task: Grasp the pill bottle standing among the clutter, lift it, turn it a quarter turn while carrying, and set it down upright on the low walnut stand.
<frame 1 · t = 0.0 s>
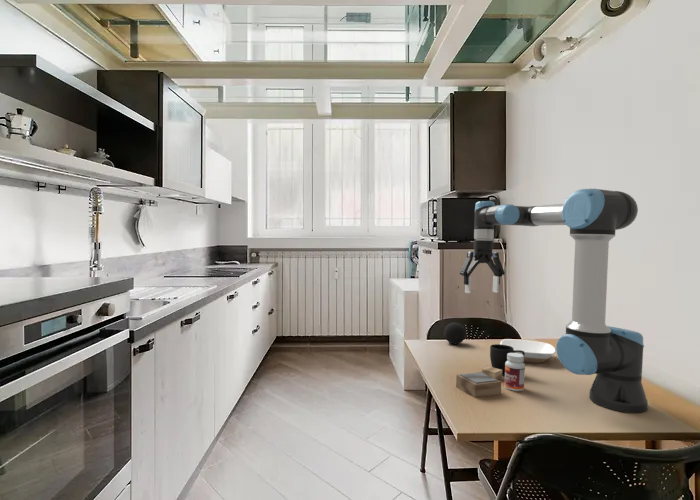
hand: (481, 292, 171), 28 cm above the table, fingers open, 13 cm apart
oak offcut: (491, 377, 151), on the table
walnut stand: (478, 390, 138), on the table
pill bottle: (514, 388, 141), on the table
bowl: (526, 358, 179), on the table
mug: (506, 373, 157), on the table
speaker: (454, 344, 200), on the table
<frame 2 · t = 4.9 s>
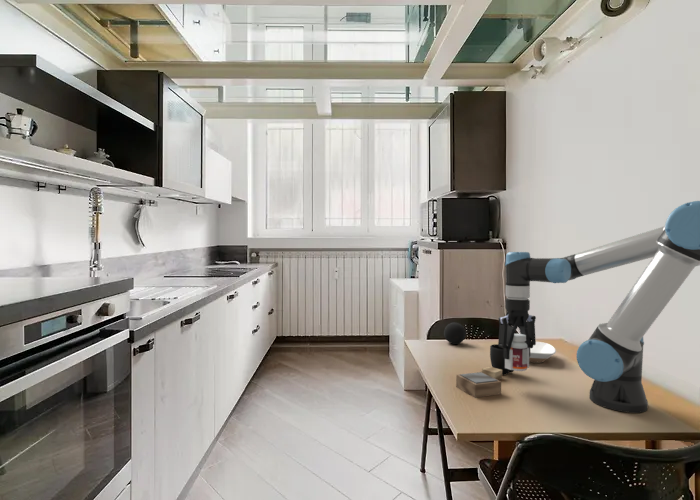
hand: (516, 367, 140), 7 cm above the table, fingers closed on pill bottle, 6 cm apart
pill bottle: (517, 369, 140), point 7 cm above the table, touching gripper
everything else where it was.
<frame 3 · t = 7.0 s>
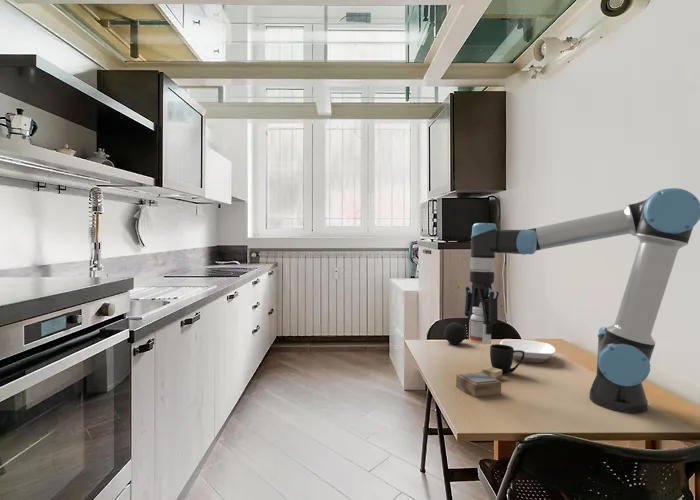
hand: (479, 341, 138), 16 cm above the table, fingers closed on pill bottle, 6 cm apart
pill bottle: (479, 342, 138), point 16 cm above the table, touching gripper
everything else where it was.
when the fingers open (5 cm above the table, at t = 9.5 s): pill bottle stays where it is, resting on walnut stand.
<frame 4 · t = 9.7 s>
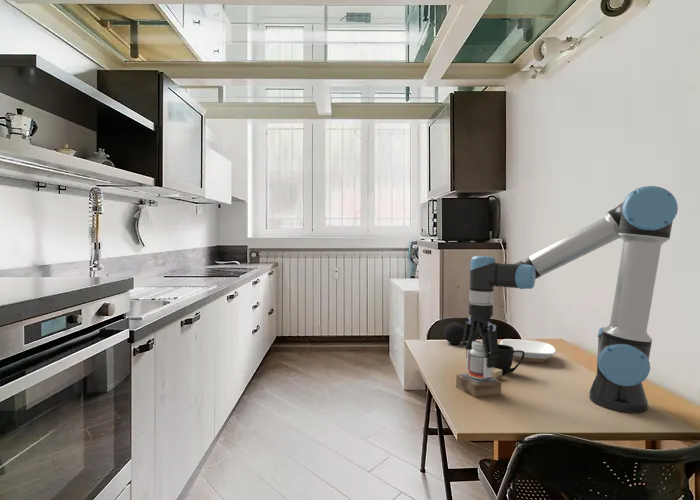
hand: (478, 372, 138), 6 cm above the table, fingers open, 8 cm apart
pill bottle: (478, 377, 138), point 4 cm above the table, touching walnut stand
everything else where it was.
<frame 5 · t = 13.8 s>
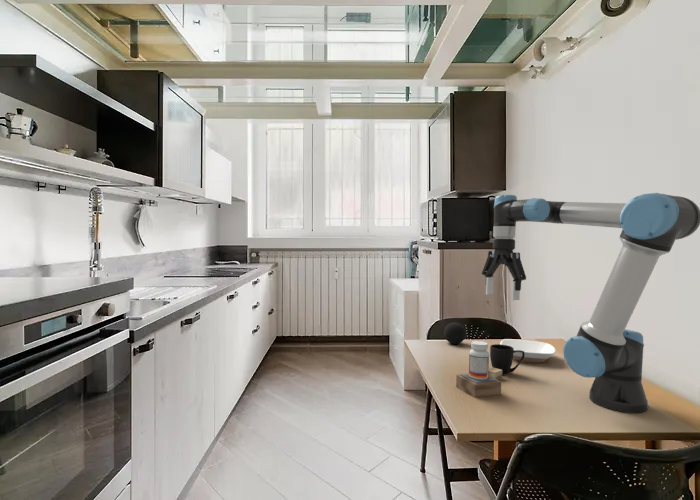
hand: (501, 297, 153), 29 cm above the table, fingers open, 13 cm apart
nothing on the table moved.
at the end: pill bottle inside the target area on the walnut stand (0.1 cm from its centre), point 4.1 cm above the walnut stand's base; pill bottle tilted 0°; the gripper is holding nothing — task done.
